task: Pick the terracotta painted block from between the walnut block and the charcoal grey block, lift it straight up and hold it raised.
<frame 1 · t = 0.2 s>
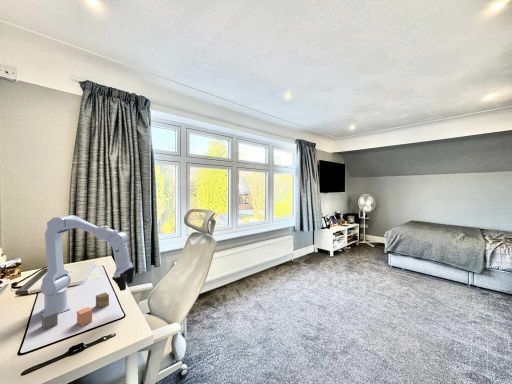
hand: (126, 286, 103), 10 cm above the table, tool pointing down, fingers open, 7 cm apart
terracotta block: (84, 322, 92), on the table
charcoal block: (49, 325, 90), on the table
walnut block: (102, 305, 106), on the table
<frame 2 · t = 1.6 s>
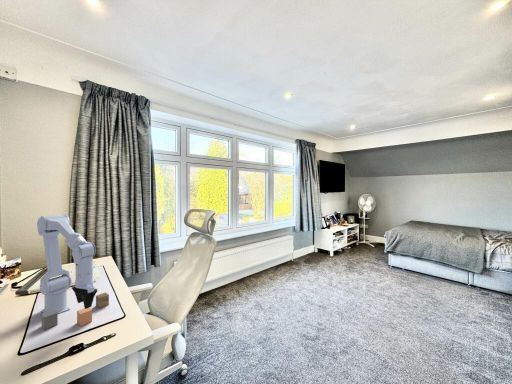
hand: (84, 304, 92), 7 cm above the table, tool pointing down, fingers open, 7 cm apart
nothing on the table moved.
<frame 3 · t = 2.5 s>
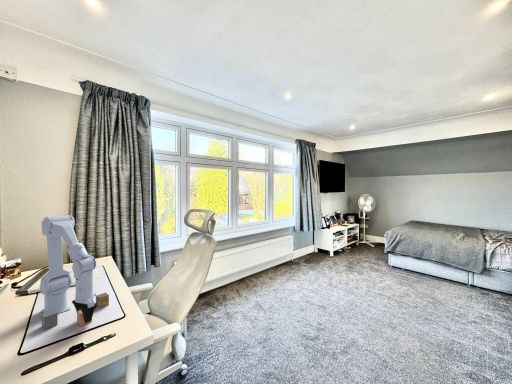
hand: (84, 318, 92), 1 cm above the table, tool pointing down, fingers open, 7 cm apart
nothing on the table moved.
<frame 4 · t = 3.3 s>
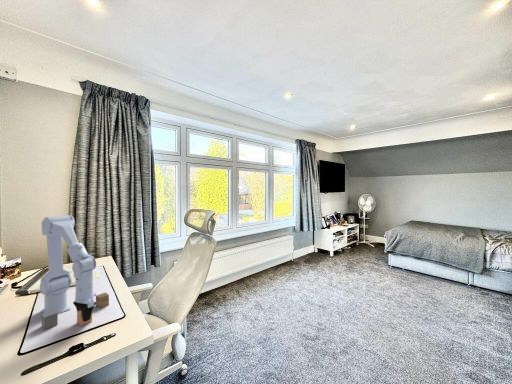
hand: (84, 318, 92), 1 cm above the table, tool pointing down, fingers closed on terracotta block, 4 cm apart
terracotta block: (84, 322, 92), on the table, touching gripper
everything else where it was.
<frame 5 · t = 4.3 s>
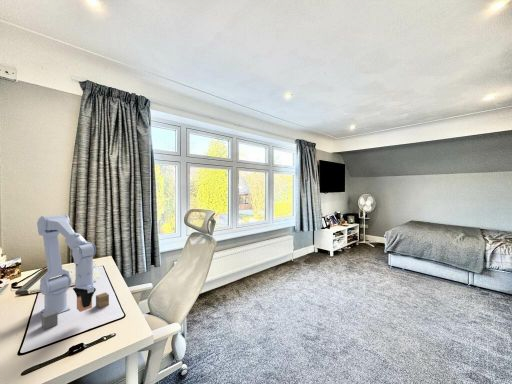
hand: (84, 304, 92), 7 cm above the table, tool pointing down, fingers closed on terracotta block, 4 cm apart
terracotta block: (84, 308, 92), point 6 cm above the table, touching gripper
everything else where it was.
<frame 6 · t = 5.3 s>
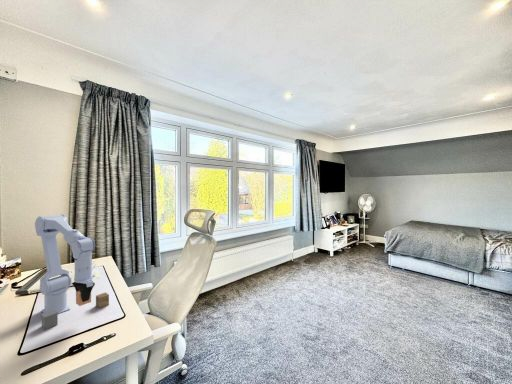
hand: (83, 299, 93), 9 cm above the table, tool pointing down, fingers closed on terracotta block, 4 cm apart
terracotta block: (83, 302, 93), point 8 cm above the table, touching gripper
everything else where it was.
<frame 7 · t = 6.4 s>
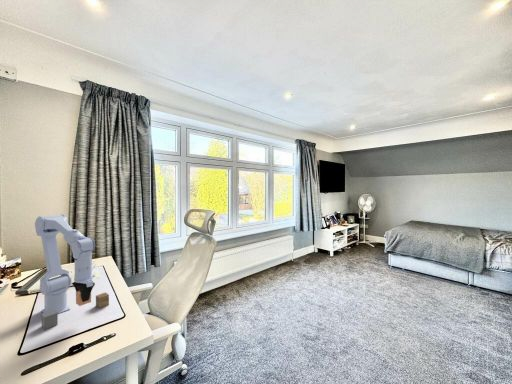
hand: (83, 299, 93), 9 cm above the table, tool pointing down, fingers closed on terracotta block, 4 cm apart
terracotta block: (83, 302, 93), point 8 cm above the table, touching gripper
everything else where it was.
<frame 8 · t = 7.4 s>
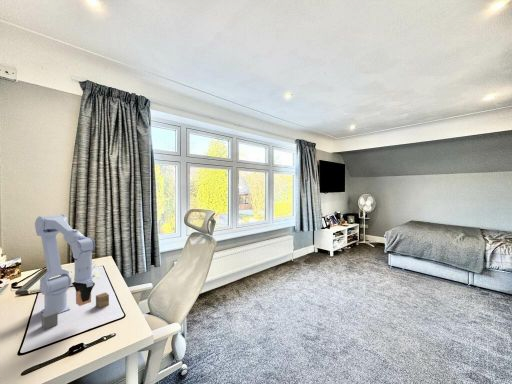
hand: (83, 299, 93), 9 cm above the table, tool pointing down, fingers closed on terracotta block, 4 cm apart
terracotta block: (83, 302, 93), point 8 cm above the table, touching gripper
everything else where it was.
at the end: terracotta block point 7.9 cm above the table; walnut block moved 0.1 cm from its start; charcoal block moved 0.1 cm from its start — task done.
